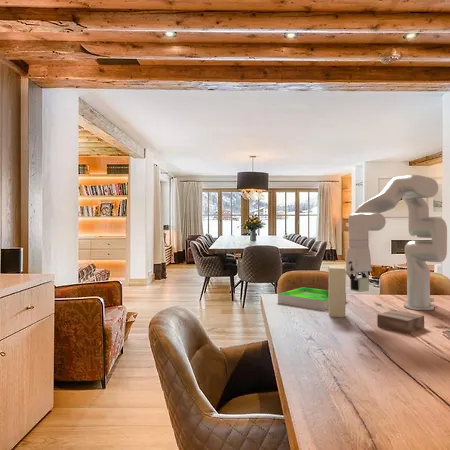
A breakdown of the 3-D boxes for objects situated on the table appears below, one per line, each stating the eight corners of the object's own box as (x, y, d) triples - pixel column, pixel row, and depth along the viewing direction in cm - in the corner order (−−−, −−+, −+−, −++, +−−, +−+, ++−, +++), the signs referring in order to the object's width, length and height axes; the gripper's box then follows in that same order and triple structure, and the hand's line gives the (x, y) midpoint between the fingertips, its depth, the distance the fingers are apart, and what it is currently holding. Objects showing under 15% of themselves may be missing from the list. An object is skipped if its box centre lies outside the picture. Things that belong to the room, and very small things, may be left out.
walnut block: (394, 322, 151) (394, 309, 151) (424, 328, 141) (424, 315, 141) (377, 327, 144) (377, 314, 144) (407, 334, 134) (407, 320, 134)
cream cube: (358, 288, 153) (358, 276, 153) (368, 290, 149) (368, 278, 149) (350, 290, 150) (350, 277, 150) (360, 292, 146) (360, 279, 146)
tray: (277, 303, 186) (277, 293, 186) (302, 296, 205) (302, 287, 205) (323, 311, 170) (323, 300, 170) (346, 302, 189) (346, 292, 189)
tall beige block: (347, 317, 157) (347, 268, 157) (329, 316, 158) (329, 268, 158) (345, 313, 165) (345, 266, 165) (328, 312, 166) (328, 265, 166)
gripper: (364, 242, 157) (365, 285, 157) (336, 245, 148) (337, 290, 148) (380, 243, 150) (381, 287, 151) (351, 246, 142) (352, 293, 142)
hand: (359, 288), depth 150 cm, fingers closed on cream cube, 4 cm apart
